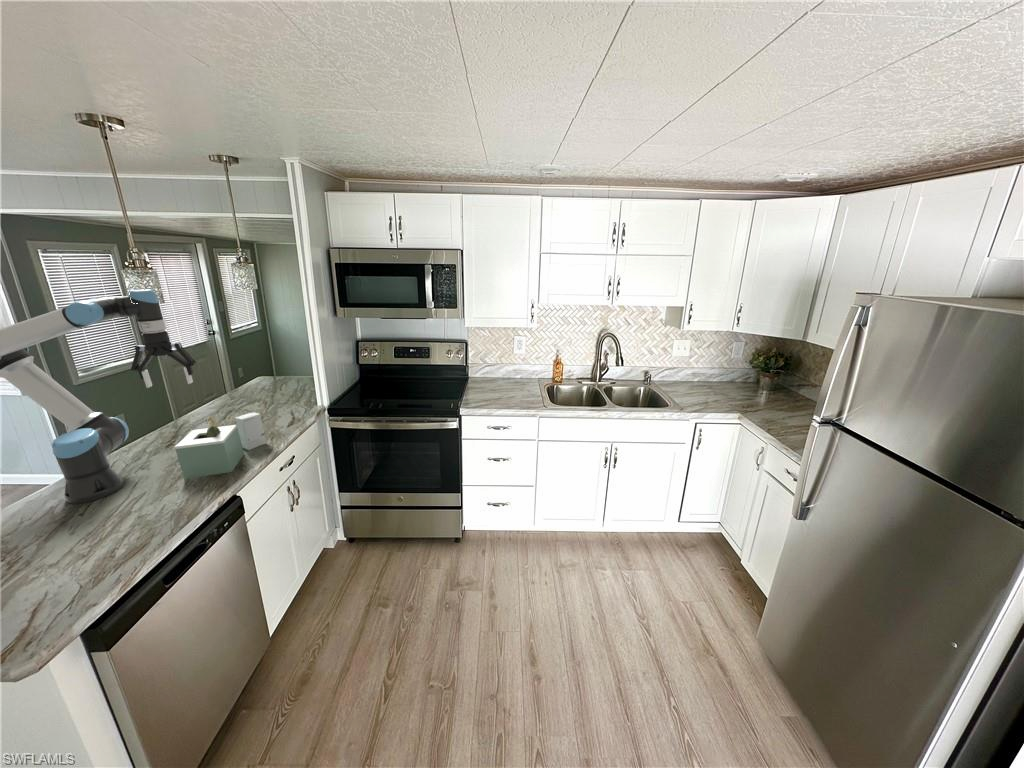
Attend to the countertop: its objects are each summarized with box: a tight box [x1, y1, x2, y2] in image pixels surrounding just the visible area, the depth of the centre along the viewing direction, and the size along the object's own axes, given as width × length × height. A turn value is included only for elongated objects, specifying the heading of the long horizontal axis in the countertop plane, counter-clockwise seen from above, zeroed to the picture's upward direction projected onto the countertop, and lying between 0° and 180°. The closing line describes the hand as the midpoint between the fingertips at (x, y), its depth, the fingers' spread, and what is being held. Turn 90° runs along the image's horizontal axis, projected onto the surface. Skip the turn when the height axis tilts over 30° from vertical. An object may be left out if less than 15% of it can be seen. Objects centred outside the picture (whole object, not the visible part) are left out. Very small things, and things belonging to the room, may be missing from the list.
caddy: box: [174, 424, 245, 480], centre depth 164 cm, size 16×16×14 cm
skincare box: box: [234, 411, 267, 451], centre depth 181 cm, size 8×6×15 cm
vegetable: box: [207, 417, 220, 438], centre depth 163 cm, size 4×4×20 cm
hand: (170, 384), depth 158 cm, fingers open, 13 cm apart
